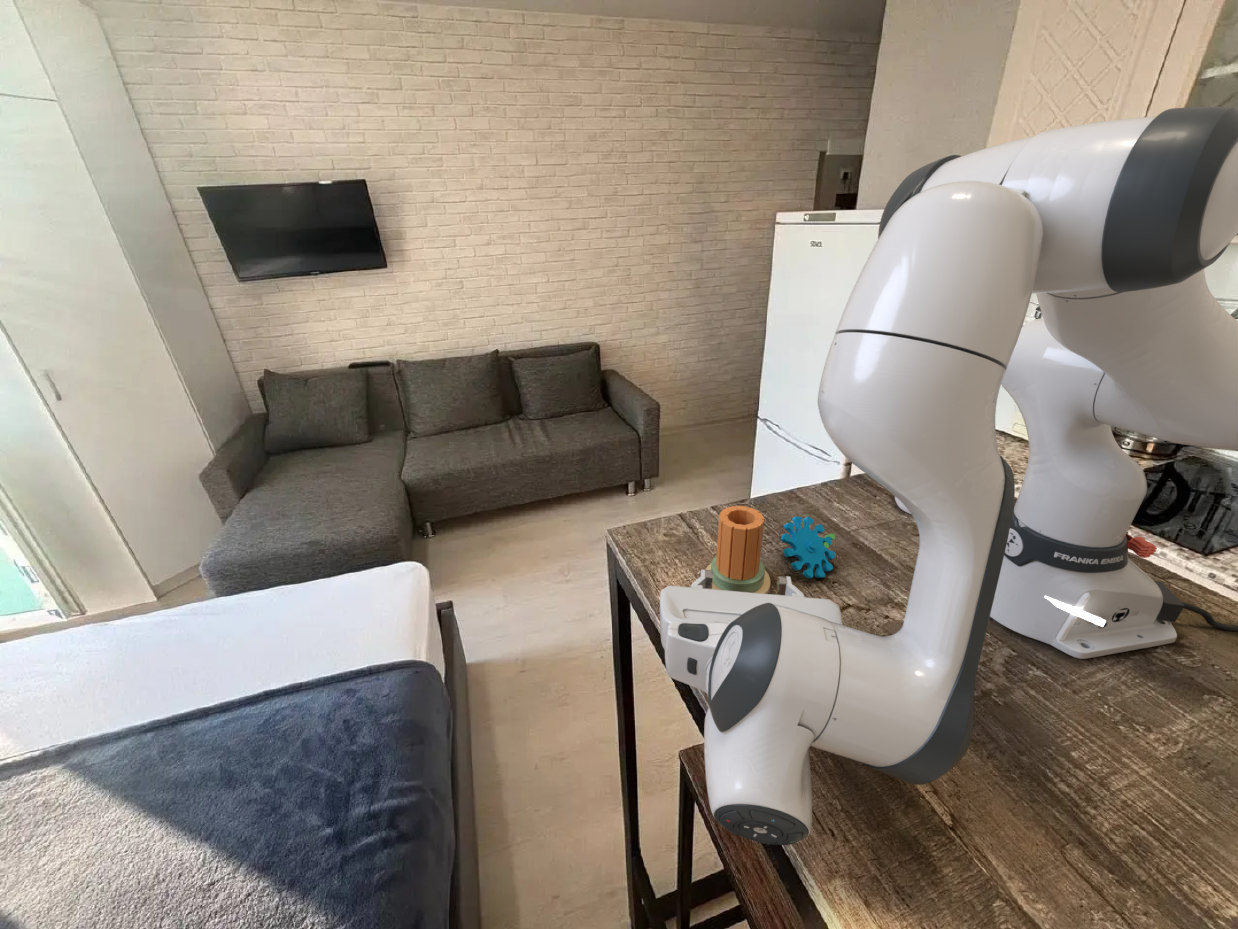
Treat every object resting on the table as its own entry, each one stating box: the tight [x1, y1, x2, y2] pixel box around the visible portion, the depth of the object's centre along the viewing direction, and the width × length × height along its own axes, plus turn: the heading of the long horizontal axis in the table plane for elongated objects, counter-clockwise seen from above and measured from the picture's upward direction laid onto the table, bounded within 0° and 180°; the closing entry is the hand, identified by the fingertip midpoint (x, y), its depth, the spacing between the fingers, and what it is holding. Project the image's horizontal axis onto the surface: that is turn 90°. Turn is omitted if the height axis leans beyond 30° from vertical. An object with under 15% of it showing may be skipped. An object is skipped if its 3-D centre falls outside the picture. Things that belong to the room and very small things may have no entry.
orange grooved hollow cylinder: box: [715, 505, 765, 580], centre depth 75 cm, size 6×6×9 cm
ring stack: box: [705, 555, 771, 594], centre depth 77 cm, size 10×10×10 cm
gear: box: [780, 516, 836, 580], centre depth 82 cm, size 11×6×10 cm
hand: (744, 577), depth 64 cm, fingers open, 8 cm apart
